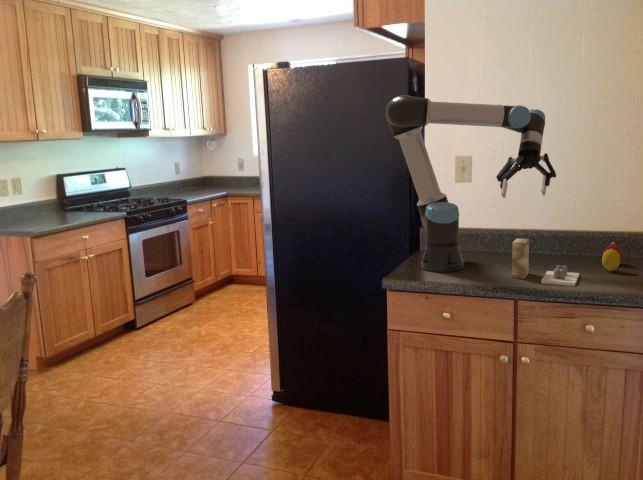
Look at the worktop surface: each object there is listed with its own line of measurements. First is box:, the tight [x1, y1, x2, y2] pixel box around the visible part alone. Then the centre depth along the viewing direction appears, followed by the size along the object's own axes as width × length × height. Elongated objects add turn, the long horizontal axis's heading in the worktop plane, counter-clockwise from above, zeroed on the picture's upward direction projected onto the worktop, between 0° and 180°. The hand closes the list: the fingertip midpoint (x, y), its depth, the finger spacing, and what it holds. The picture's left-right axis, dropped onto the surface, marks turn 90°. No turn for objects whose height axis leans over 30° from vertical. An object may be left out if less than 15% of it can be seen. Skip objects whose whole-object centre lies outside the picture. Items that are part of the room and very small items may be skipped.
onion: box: [603, 241, 623, 259], centre depth 211 cm, size 6×6×8 cm
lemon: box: [601, 248, 621, 273], centre depth 200 cm, size 6×6×8 cm
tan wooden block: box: [511, 238, 530, 279], centre depth 200 cm, size 4×8×12 cm, turn 152°
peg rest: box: [540, 264, 580, 287], centre depth 192 cm, size 10×14×4 cm
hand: (522, 194), depth 205 cm, fingers open, 13 cm apart
